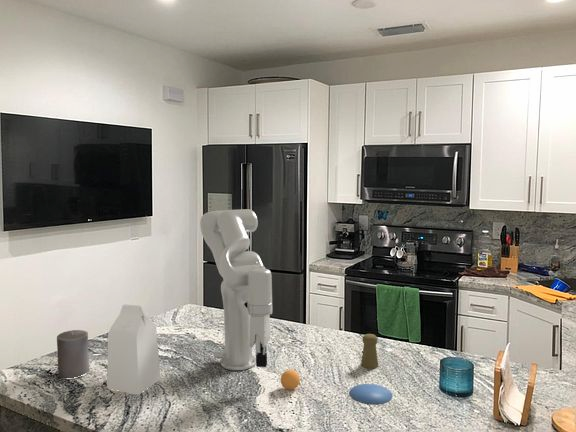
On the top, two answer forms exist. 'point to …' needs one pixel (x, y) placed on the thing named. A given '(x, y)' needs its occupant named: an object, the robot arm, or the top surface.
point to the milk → (132, 352)
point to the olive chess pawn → (369, 352)
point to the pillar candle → (72, 353)
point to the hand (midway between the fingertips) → (261, 365)
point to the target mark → (370, 394)
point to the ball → (290, 379)
